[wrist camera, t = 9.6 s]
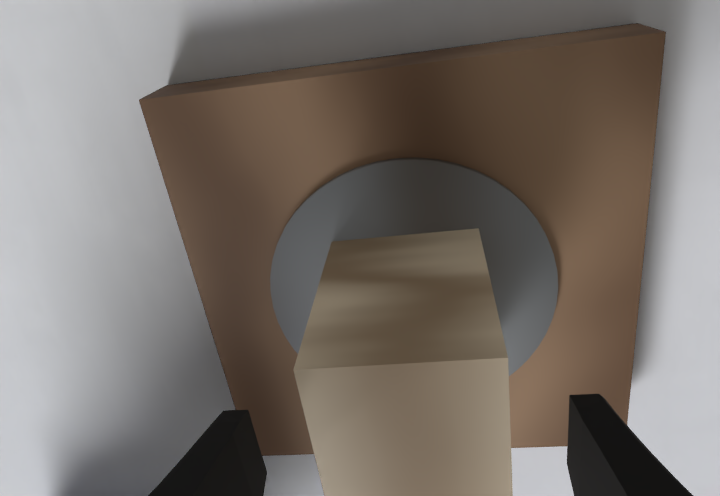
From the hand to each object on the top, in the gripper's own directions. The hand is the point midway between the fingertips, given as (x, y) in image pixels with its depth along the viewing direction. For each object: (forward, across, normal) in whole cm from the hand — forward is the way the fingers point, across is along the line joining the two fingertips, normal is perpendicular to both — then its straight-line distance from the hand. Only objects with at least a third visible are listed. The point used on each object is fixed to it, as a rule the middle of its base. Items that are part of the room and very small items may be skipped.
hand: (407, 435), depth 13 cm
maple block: (+6, 0, 0) cm, 6 cm away
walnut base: (+8, 0, 0) cm, 8 cm away
